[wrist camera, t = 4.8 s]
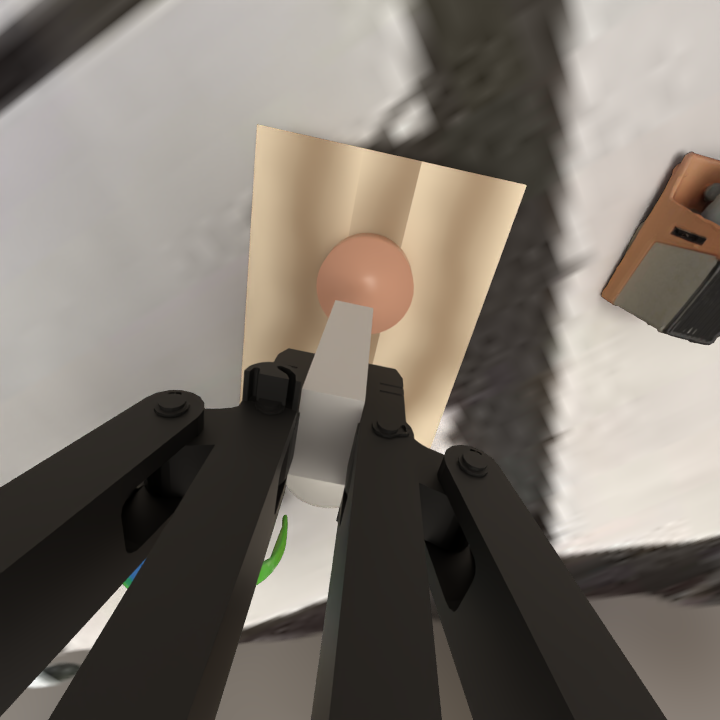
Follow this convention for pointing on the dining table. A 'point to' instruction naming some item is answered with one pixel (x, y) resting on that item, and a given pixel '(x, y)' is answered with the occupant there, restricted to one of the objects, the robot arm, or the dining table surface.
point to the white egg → (315, 491)
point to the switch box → (386, 218)
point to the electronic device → (676, 257)
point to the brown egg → (367, 278)
